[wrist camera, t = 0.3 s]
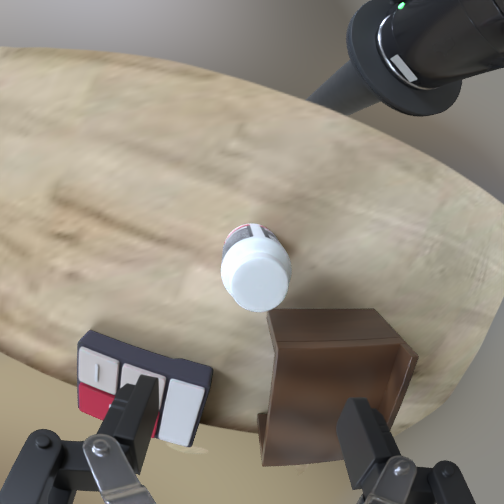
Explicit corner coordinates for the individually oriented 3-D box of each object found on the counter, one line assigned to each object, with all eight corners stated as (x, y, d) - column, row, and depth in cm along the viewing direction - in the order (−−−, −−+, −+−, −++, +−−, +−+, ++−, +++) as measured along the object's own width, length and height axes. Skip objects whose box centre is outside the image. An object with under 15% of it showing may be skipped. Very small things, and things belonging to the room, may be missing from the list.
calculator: (74, 343, 28) (210, 390, 29) (90, 326, 32) (214, 367, 33) (75, 412, 31) (190, 452, 32) (87, 393, 35) (194, 429, 36)
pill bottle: (223, 277, 31) (220, 322, 22) (222, 223, 30) (217, 246, 20) (278, 276, 31) (297, 319, 22) (279, 222, 30) (301, 245, 21)
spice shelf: (267, 308, 32) (282, 365, 22) (373, 308, 33) (419, 356, 23) (256, 419, 36) (264, 483, 26) (346, 414, 37) (370, 470, 27)
